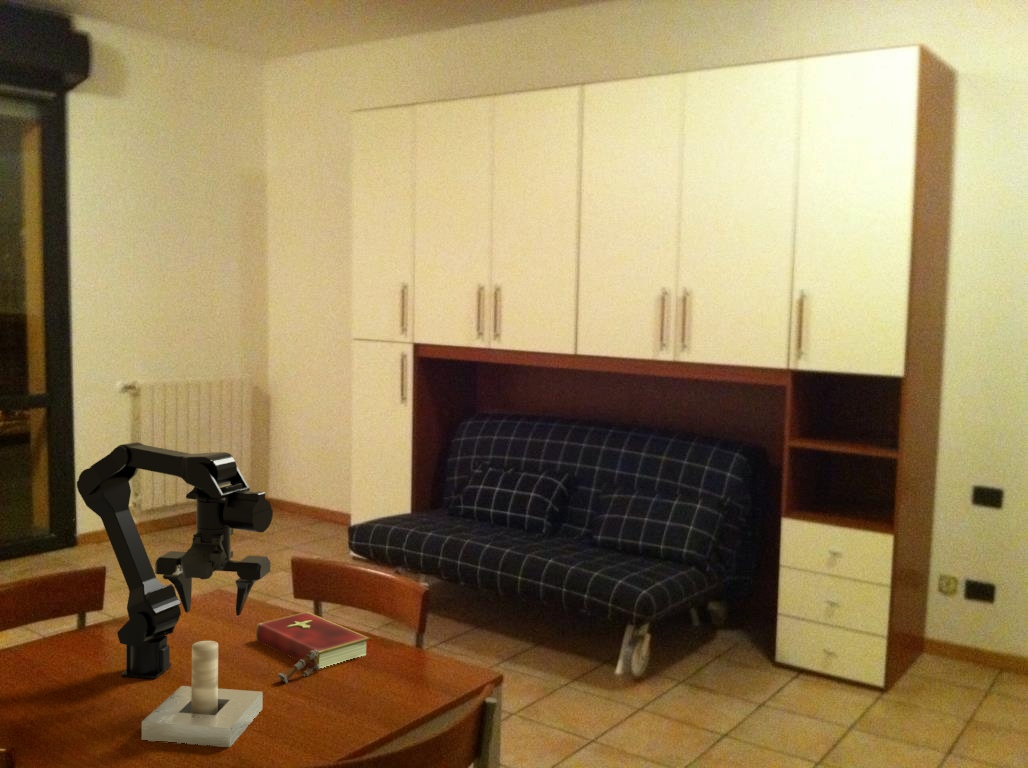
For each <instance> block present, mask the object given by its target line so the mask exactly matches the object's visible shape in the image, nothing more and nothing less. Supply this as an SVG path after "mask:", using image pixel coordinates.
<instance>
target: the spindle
mask: <svg viewBox="0 0 1028 768" xmlns="http://www.w3.org/2000/svg"><path fill="white" fill-rule="evenodd" d="M191 687H192V695H191V713H192V714H205V715H216V714H217V713H218V689H219V643H218V642H217V641H214V640H200V641H197V642H194V643H193V644H192V645H191Z"/></svg>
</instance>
